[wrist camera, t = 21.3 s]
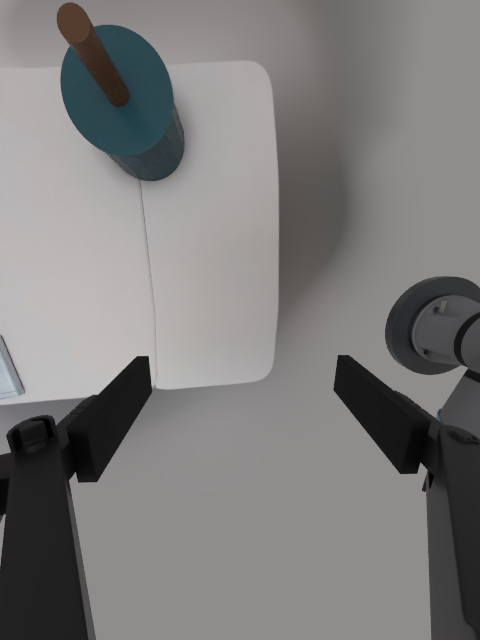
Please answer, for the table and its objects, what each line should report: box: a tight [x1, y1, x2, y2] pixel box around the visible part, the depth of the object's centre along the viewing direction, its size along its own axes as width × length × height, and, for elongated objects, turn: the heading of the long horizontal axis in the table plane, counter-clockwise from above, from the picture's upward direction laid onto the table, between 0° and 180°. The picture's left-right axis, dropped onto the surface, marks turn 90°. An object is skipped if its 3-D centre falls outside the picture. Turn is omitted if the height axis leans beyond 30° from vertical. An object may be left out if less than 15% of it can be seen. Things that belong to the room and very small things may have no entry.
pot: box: [107, 104, 184, 181], centre depth 32 cm, size 12×12×10 cm
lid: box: [57, 3, 174, 157], centre depth 24 cm, size 13×13×9 cm
